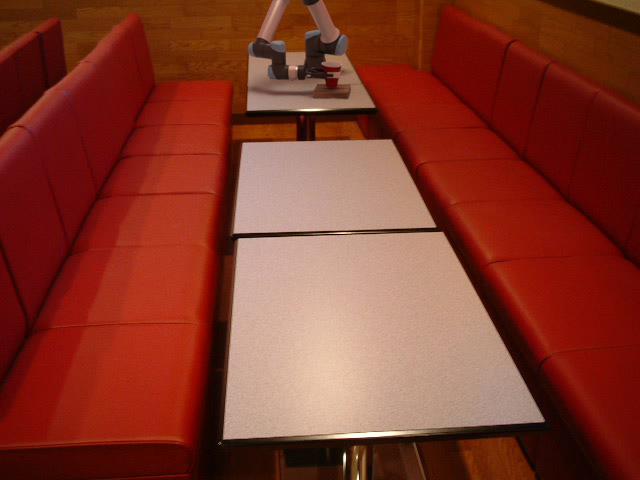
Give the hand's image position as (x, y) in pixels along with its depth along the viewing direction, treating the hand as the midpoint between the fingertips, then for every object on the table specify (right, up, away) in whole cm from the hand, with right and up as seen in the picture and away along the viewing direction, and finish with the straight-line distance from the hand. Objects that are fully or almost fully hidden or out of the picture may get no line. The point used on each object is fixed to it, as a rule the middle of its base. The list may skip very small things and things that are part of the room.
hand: (340, 73), depth 328 cm
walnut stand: (-4, -10, +6) cm, 12 cm away
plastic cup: (-4, -6, +4) cm, 9 cm away
